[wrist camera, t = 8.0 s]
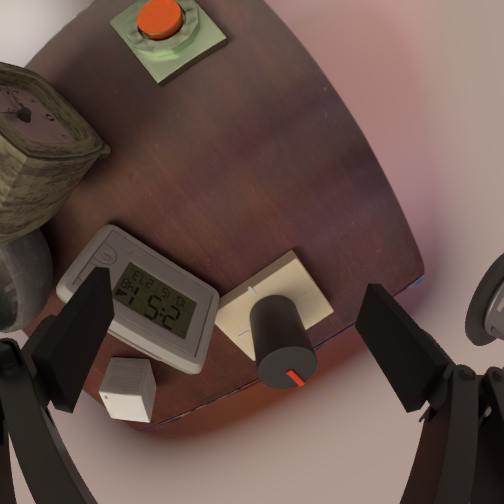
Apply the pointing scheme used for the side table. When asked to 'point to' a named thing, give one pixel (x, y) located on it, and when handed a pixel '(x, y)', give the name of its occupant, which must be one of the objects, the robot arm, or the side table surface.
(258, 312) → the dial
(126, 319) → the digital clock
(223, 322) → the dial panel
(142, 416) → the product box
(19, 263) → the bowl
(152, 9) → the push button
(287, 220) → the side table surface
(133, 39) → the button block
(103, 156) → the tabletop clock
